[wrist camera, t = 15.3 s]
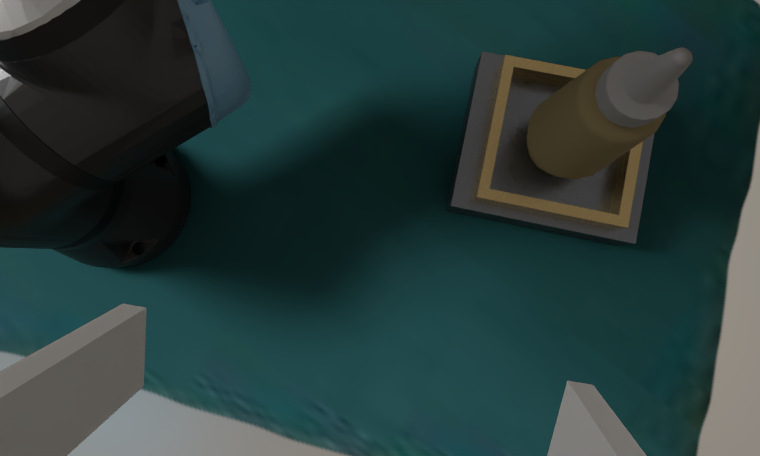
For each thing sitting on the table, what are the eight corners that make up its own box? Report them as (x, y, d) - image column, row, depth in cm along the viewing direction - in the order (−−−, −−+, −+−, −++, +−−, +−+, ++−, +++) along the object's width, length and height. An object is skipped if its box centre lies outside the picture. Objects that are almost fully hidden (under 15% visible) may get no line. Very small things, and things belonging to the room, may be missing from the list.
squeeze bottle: (615, 143, 41) (787, 53, 23) (560, 203, 41) (690, 158, 23) (553, 89, 42) (673, -41, 24) (498, 148, 41) (577, 61, 23)
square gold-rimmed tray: (445, 210, 45) (453, 203, 39) (474, 69, 46) (486, 41, 40) (613, 245, 44) (648, 243, 38) (639, 100, 45) (676, 76, 39)
